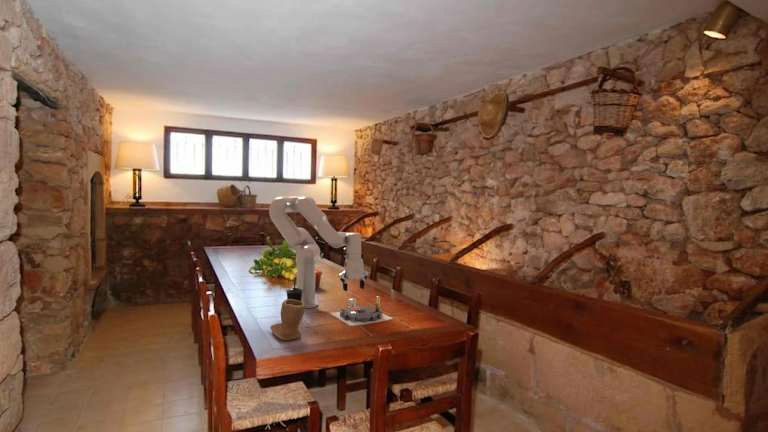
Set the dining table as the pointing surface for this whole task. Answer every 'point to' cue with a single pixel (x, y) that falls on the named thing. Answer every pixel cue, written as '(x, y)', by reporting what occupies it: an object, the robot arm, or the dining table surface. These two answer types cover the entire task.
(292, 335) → the brown boot
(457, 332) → the dining table surface
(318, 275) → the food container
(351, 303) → the roller
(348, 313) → the sprocket
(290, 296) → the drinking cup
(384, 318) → the board
